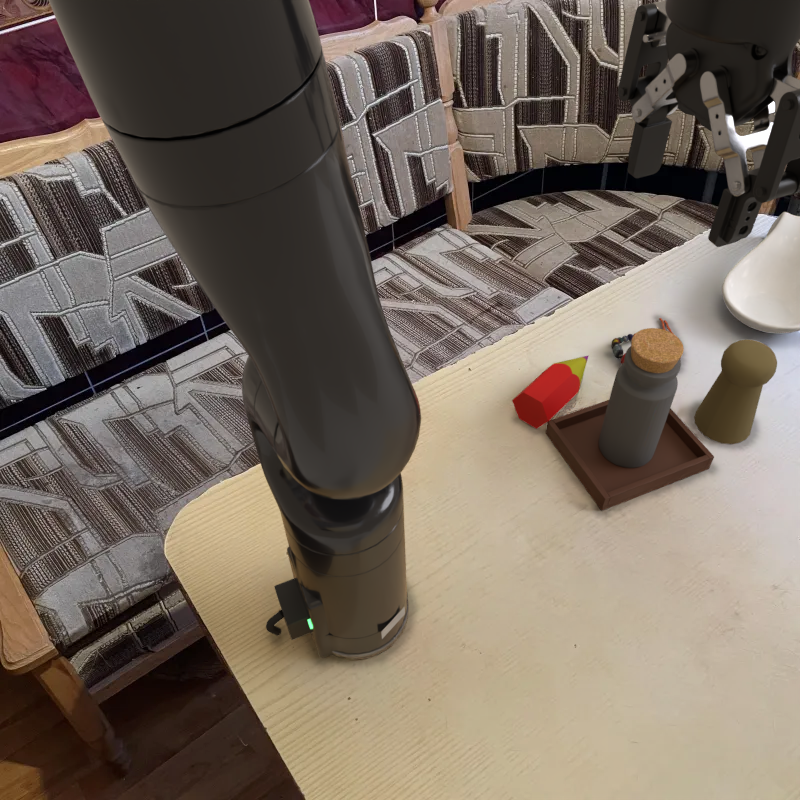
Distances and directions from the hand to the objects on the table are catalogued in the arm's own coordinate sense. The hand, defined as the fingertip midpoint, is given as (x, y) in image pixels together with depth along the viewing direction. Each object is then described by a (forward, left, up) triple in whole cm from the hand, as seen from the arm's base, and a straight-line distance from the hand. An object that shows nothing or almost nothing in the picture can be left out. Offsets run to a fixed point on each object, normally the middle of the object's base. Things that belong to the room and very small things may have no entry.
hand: (681, 205), depth 49 cm
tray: (+8, +6, -36) cm, 37 cm away
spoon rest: (+41, +21, -36) cm, 58 cm away
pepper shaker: (+20, +5, -36) cm, 42 cm away
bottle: (+8, +6, -36) cm, 37 cm away
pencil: (+6, +16, -36) cm, 40 cm away
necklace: (+20, +18, -36) cm, 45 cm away
